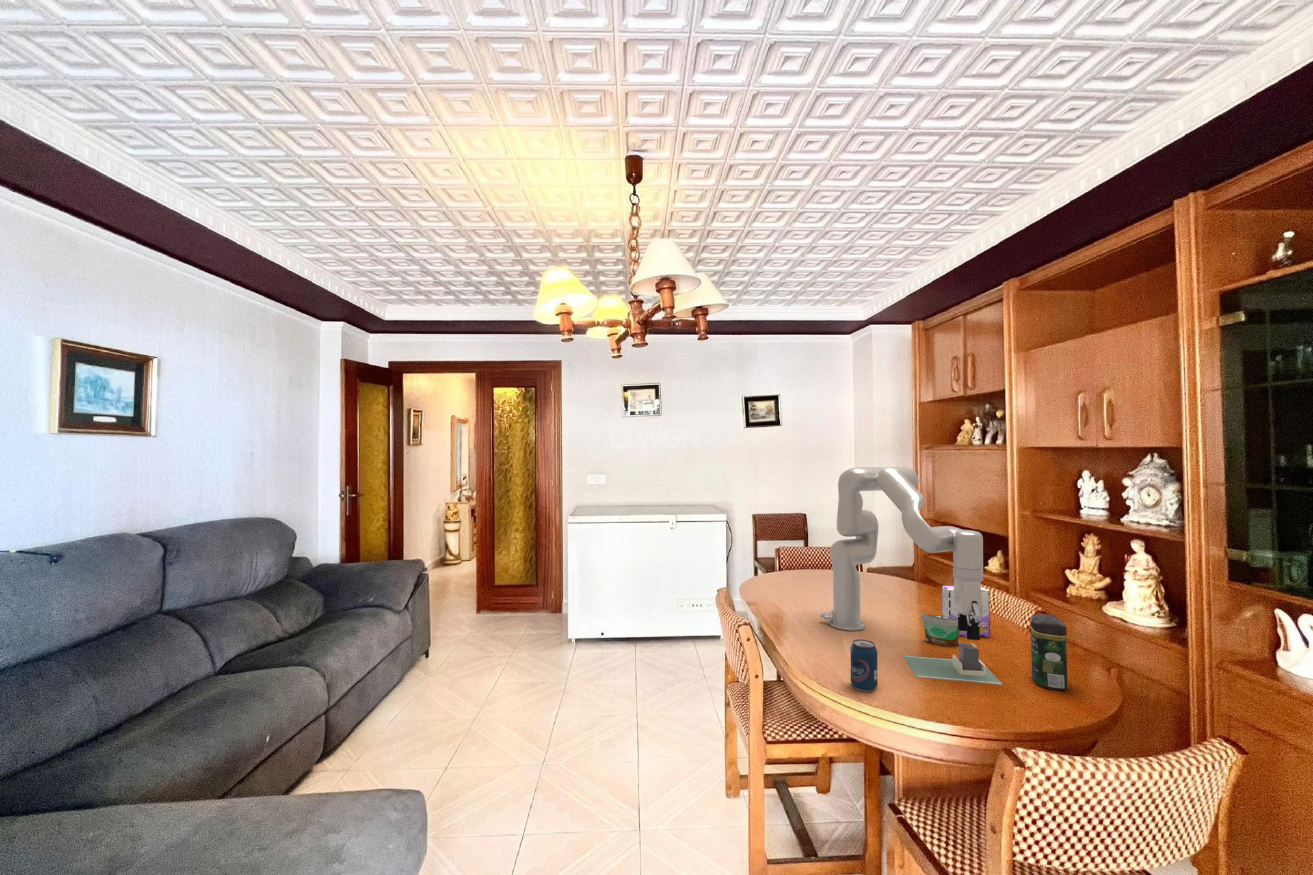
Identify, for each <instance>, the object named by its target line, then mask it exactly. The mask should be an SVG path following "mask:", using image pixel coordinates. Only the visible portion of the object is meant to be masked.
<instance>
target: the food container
mask: <svg viewBox="0 0 1313 875" xmlns="http://www.w3.org/2000/svg"><path fill="white" fill-rule="evenodd" d="M920 618H921V620H923V628H924V635H925V641H926V642H930V643H932V644H935V645H939V646H946V647H952V646H957V645H959V638H960V636H959V630H958V619H955V618H949V617H945V616H942V615H940V614H939V615H933V614H932V615H931V614H926V613H924V612H921V616H920Z"/></svg>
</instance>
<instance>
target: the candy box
mask: <svg viewBox="0 0 1313 875" xmlns="http://www.w3.org/2000/svg"><path fill="white" fill-rule="evenodd" d="M953 591H954V585H942V586H941V602H942V604H941V605H942V606H941V609H942V610H941V611H942V612H941V613H942V615H941V616H945V617H949V618H955V619H958V617H960V616H958V610H957V609H956V608H955V607H954V606H953ZM981 594H982V614H981V619H980V638H990V637H991V609H990V608H991V607H990V606H991V604H990V590H989V589H987V588H984V587H983V586H981ZM969 614H974V613H972V612H970V613H969ZM972 618H974V617H970V619H972ZM959 637H965V638H967V631H959Z"/></svg>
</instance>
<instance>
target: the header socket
mask: <svg viewBox="0 0 1313 875" xmlns="http://www.w3.org/2000/svg"><path fill="white" fill-rule="evenodd" d="M952 659H953V666H954V667H955V669H956V670H957V671H958V672H959V674H961V675H973V676H984V677H986V667H987V666H986V664H985V663H984V662H983V661H981V660H980V658H979V671H973V670H962V663H961V662H960V661H959V657H957V656H956V654H952Z"/></svg>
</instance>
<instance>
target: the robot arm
mask: <svg viewBox="0 0 1313 875" xmlns="http://www.w3.org/2000/svg"><path fill="white" fill-rule="evenodd" d="M919 482H920V481H919V477H918V474H917V472H916V471H915V470H913V469H912V468H910V467H907V466H888V467H887V466H885V467H883V466H881V467H880V466H878V467H876V466H875V467H872V466H871V467H870V466H869V467H868V466H867V467H866V466H863V467H862V466H861V467H852V468H849V469H845V470H844V471H843V472H842V473H841V474H840V476H839V477H838V483H837V491H838V493H837V494H838V502H837V514H836V516H837V517H836V530H837V532H838V534H839V535H840V536H842V537H846V539H839V540H837V541H835V542H834V543H832V545H831V546H830V550H829V554H830V556H829V557H830V560H831V565H832V592H833V593H832V594H833V595H832V601H833V602H832V608H833V609H831V611H829V612H826V611H820V612H819V613H820V618H824V620H828V625H830V627H833V628H834V629H835V628H836V629H838V630H843V631H848V632H849V631H851V632H852V631H853V632H854V631H855V632H856V631H862V630H864V629H866V624H865V622H863V621H862V619H861V577H860V576H861V575H860V573H859V571H858V570H857V567H856V566H858V565H865V564H870V563H871V562H873V561H874V559H875V558H876V555H877V550H878V549H877V548H878V538H879V521H878V517H877V516H876V514H874V512H872V511H870V510H867V509H863V507H864V506H863V505H864V501H863V496H862V493H860V492H871V491H873V492H874V491H875V492H876V491H878V492H880V491H881V492H883V493H884V494H885V495H886V497H888V499H889V500H890V501H891V502H892V503H893V505H894V506H895V507H896V508H897V509H898V510H899V511H900V512H901V521H902V525H903V529H904V530H905V532H906V534H907V535H908V536H909V537H910V539H911V540H912V541H913V542H914V543H915V544H916V545H917V547H919V548H920V549H921V550H923V551H924V552H926V553H931V554H934V553H935V554H936V553H937V554H938V553H945V552H946V553H947V552H952V557H953V558H952V560H953V561H952V569H953V570H952V577H953V578H954V580H953V586H954V591H953V606H954V607H955V608H956V609H957V610H958V616H960V617H958V630H959V631H967V637H966V639H967V640H969V641H970V640H972V641H980V640H981V639H980V638H981V637H980V619H981V614H982V594H981V587H982V584H981V582H983V581H984V538H983V534H982V533H981V532H979V531H978V530H977V531H976V530H969V529H962V528H959V527H955V526H953V525H952V526H950V525H945V526H944V525H943V526H933V527H931V526H930V525H929V524H928V523H927V521H926V520H925V519H924V518H923V517H922V516H921V514H920V510H921V508H922V507H923V506H924V504H925V502H926V499H925V496H924V495H923V494H922V493H921V492H920V491H919V490H918V489H917V488H918V485H919ZM848 537H849V538H848ZM850 537H851V538H850ZM853 537H855V538H853ZM970 612H972V613H974V614H969V613H970ZM970 617H974V618H972V619H970Z"/></svg>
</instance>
